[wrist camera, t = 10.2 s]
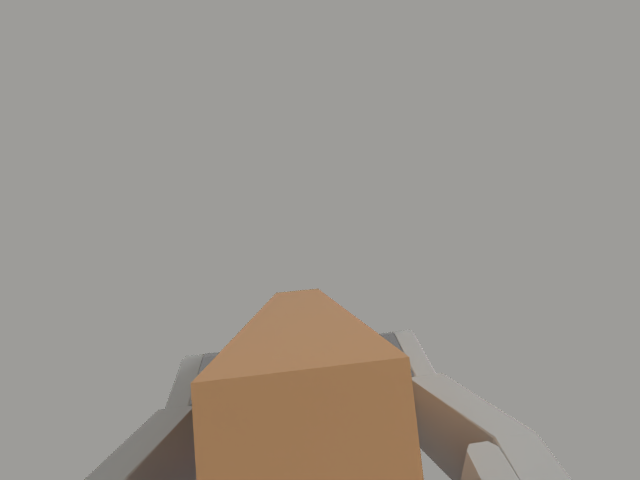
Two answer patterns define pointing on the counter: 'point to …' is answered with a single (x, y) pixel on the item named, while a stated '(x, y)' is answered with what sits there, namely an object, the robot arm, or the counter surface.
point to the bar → (306, 399)
